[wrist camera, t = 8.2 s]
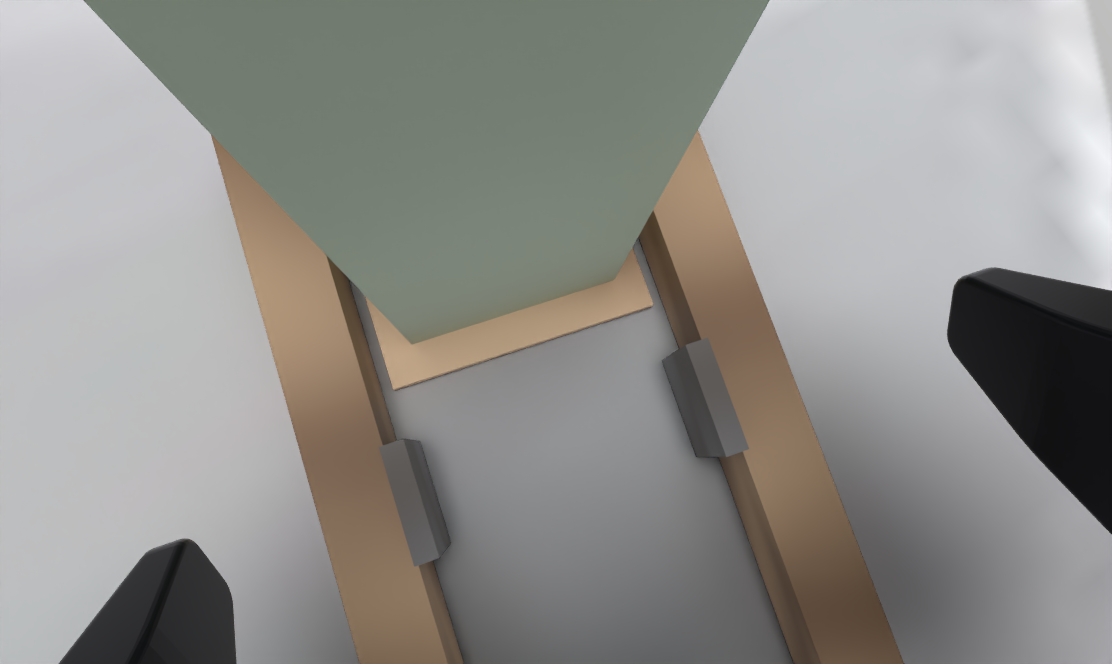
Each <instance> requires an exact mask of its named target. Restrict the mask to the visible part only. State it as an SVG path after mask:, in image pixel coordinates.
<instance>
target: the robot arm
mask: <svg viewBox="0 0 1112 664" xmlns="http://www.w3.org/2000/svg"><path fill="white" fill-rule="evenodd" d="M947 337H948V342H949V345H950V347H951V349H952V351H953V353H954V354H955V356H956V357H957V358H958V360H959V361H960V362H961V363H962V365H963V366H964V367H965V368H966V370H967V371H968V372H969V373H970V375H971V376H972V377H973V379H974V380H975V381H976V382H977V384H978V385H979V386H980V387H981V389H982V390H983V391H984V392H985V394H986V395H987V396H988V398H989V399H990V400H991V401H992V403H993V404H994V405H995V406H996V408H997V409H998V410H999V411H1000V413H1001V414H1002V415H1003V417H1004V418H1005V419H1006V420H1007V422H1008V423H1009V424H1010V425H1011V427H1012V428H1013V429H1014V430H1015V432H1016V433H1017V434H1018V435H1019V437H1020V438H1021V439H1022V440H1023V441H1024V443H1025V444H1026V445H1027V446H1028V447H1029V449H1030V450H1031V451H1032V452H1033V453H1034V454H1035V455H1036V456H1037V457H1038V459H1039V460H1040V461H1041V462H1042V463H1043V464H1044V465H1045V466H1046V467H1047V468H1048V469H1049V470H1050V471H1051V472H1052V473H1053V474H1054V475H1055V477H1056V478H1057V479H1058V480H1059V481H1060V482H1061V483H1062V484H1063V485H1064V486H1065V487H1066V488H1067V489H1068V490H1069V491H1070V492H1071V493H1072V494H1073V495H1074V496H1075V497H1076V498H1077V499H1078V500H1079V501H1080V502H1081V503H1082V504H1083V505H1084V506H1085V507H1086V509H1087V510H1088V511H1089V512H1090V513H1091V514H1092V515H1093V516H1094V517H1095V518H1096V519H1097V520H1098V521H1099V522H1100V523H1101V524H1102V525H1103V526H1104V527H1105V528H1106V529H1107V530H1108V531H1109V532H1110V533H1111V534H1112V291H1110V290H1105V289H1100V288H1096V287H1091V286H1086V285H1081V284H1076V283H1071V282H1066V281H1061V280H1056V279H1051V278H1046V277H1041V276H1036V275H1031V274H1026V273H1021V272H1016V271H1011V270H1006V269H1001V268H986V269H983V270H980V271H977V272H974V273H971V274H968V275H965V276H963V277H961V278H960V279H958V281H957V282H956V284H955V285H954V289H953V294H952V301H951V308H950V315H949V322H948V329H947ZM59 664H236V648H235V631H234V614H233V601H232V596H231V593H230V590H229V587H228V585H227V583H226V582H225V580H224V579H223V577H222V576H221V575H220V573H219V572H218V571H217V570H216V568H215V567H214V566H213V564H212V563H211V562H210V560H209V559H208V558H207V556H206V555H205V554H204V553H203V551H202V550H201V549H200V547H199V546H198V545H197V544H196V543H195V542H194V541H192V540H190V539H180V540H177V541H174V542H171V543H168V544H165V545H162V546H159V547H156V548H153V549H151V550H149V551H148V552H147V553H145V555H144V556H143V557H142V558H141V559H140V560H139V562H138V563H137V564H136V565H135V567H134V568H133V569H132V571H131V572H130V573H129V574H128V576H127V577H126V578H125V579H124V581H123V582H122V583H121V585H120V586H119V587H118V588H117V590H116V591H115V592H114V594H113V595H112V596H111V597H110V599H109V600H108V601H107V602H106V604H105V605H104V606H103V608H102V609H101V610H100V611H99V613H98V614H97V615H96V617H95V618H94V619H93V620H92V622H91V623H90V624H89V625H88V627H87V628H86V629H85V631H84V632H83V633H82V634H81V636H80V637H79V638H78V640H77V641H76V642H75V643H74V645H73V646H72V647H71V648H70V650H69V651H68V652H67V654H66V655H65V656H64V657H63V659H62V660H61V661H60V663H59Z"/></svg>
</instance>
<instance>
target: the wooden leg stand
mask: <svg viewBox="0 0 1112 664" xmlns="http://www.w3.org/2000/svg"><path fill="white" fill-rule="evenodd" d="M211 136H212V135H211ZM212 140H213V143H214V147H215V151H216V154H217V158H218V161H219V165H220V168H221V172H222V175H223V179H224V183H225V186H226V190H227V193H228V197H229V200H230V204H231V207H232V211H233V215H234V218H235V222H236V225H237V229H238V232H239V236H240V240H241V243H242V247H243V250H244V254H245V257H246V261H247V264H248V268H249V272H250V275H251V279H252V282H253V286H254V289H255V293H256V296H257V300H258V304H259V307H260V311H261V314H262V318H263V321H264V325H265V329H266V332H267V336H268V339H269V343H270V346H271V350H272V353H273V357H274V361H275V364H276V368H277V371H278V375H279V378H280V382H281V385H282V389H283V393H284V396H285V400H286V403H287V407H288V410H289V414H290V417H291V421H292V425H293V428H294V432H295V435H296V439H297V442H298V446H299V450H300V453H301V457H302V460H303V464H304V467H305V471H306V474H307V478H308V482H309V485H310V489H311V492H312V496H313V499H314V503H315V506H316V510H317V514H318V517H319V521H320V524H321V528H322V531H323V535H324V538H325V542H326V546H327V549H328V553H329V556H330V560H331V563H332V567H333V571H334V574H335V578H336V581H337V585H338V588H339V592H340V595H341V599H342V603H343V606H344V610H345V613H346V617H347V620H348V624H349V627H350V631H351V635H352V638H353V642H354V645H355V649H356V652H357V656H358V659H359V663H360V664H464V663H463V659H462V656H461V653H460V649H459V646H458V643H457V639H456V636H455V633H454V629H453V626H452V623H451V620H450V616H449V613H448V610H447V606H446V603H445V600H444V596H443V593H442V590H441V586H440V583H439V580H438V576H437V573H436V570H435V566H434V563H433V560H435V559H438V558H440V557H441V555H442V554H443V553H444V551H445V550H446V549H447V547H448V546H449V545H450V543H451V541H450V538H449V535H448V532H447V528H446V525H445V522H444V518H443V515H442V512H441V509H440V505H439V502H438V499H437V496H436V492H435V489H434V486H433V482H432V479H431V476H430V473H429V469H428V466H427V463H426V460H425V456H424V453H423V450H422V446H421V443H420V441H415V440H408V439H401V440H398V441H397V440H396V437H395V433H394V430H393V427H392V423H391V420H390V417H389V414H388V410H387V407H386V404H385V400H384V397H383V394H382V390H381V387H380V384H379V380H378V377H377V374H376V370H375V367H374V364H373V360H372V357H371V354H370V350H369V347H368V344H367V340H366V337H365V334H364V330H363V327H362V324H361V321H360V317H359V314H358V311H357V307H356V304H355V301H354V297H353V294H352V291H351V287H350V284H349V281H348V277H347V276H346V275H345V274H344V273H343V272H342V271H341V270H340V269H339V268H338V267H337V266H336V265H335V264H334V263H333V262H332V260H331V259H330V258H329V257H328V256H327V255H326V254H325V253H324V252H323V251H322V250H321V249H320V248H319V247H318V246H317V245H316V244H315V243H314V242H313V241H312V239H311V238H310V237H309V236H308V235H307V234H306V233H305V232H304V231H303V230H302V229H301V228H300V227H299V226H298V225H297V224H296V223H295V222H294V221H293V220H292V219H291V217H290V216H289V215H288V214H287V213H286V212H285V211H284V210H283V209H282V208H281V207H280V206H279V205H278V204H277V203H276V202H275V201H274V200H273V199H272V198H271V196H270V195H269V194H268V193H267V192H266V191H265V190H264V189H263V188H262V187H261V186H260V185H259V184H258V183H257V182H256V181H255V180H254V179H253V178H252V177H251V176H250V174H249V173H248V172H247V171H246V170H245V169H244V168H243V167H242V166H241V165H240V164H239V163H238V162H237V161H236V160H235V159H234V158H233V157H232V156H231V155H230V153H229V152H228V151H227V150H226V149H225V148H224V147H223V146H222V145H221V144H220V143H219V142H218V141H217V140H216V139H215V138H214V137H213V136H212ZM638 237H639V240H640V242H641V245H642V248H643V251H644V253H645V256H646V259H647V262H648V264H649V267H650V270H651V273H652V275H653V278H654V281H655V284H656V286H657V289H658V292H659V295H660V297H661V300H662V303H663V306H664V308H665V311H666V314H667V316H668V319H669V322H670V325H671V327H672V330H673V333H674V336H675V338H676V341H677V344H678V347H679V350H677V351H675V352H674V353H672V354H671V355H669V356H668V357H666V358H665V359H663V360H662V362H663V365H664V368H665V371H666V374H667V376H668V379H669V382H670V385H671V387H672V390H673V393H674V396H675V399H676V401H677V404H678V407H679V410H680V412H681V415H682V418H683V421H684V424H685V426H686V429H687V432H688V435H689V437H690V440H691V443H692V446H693V449H694V451H695V454H696V457H719V459H720V462H721V465H722V467H723V470H724V473H725V476H726V478H727V481H728V484H729V487H730V489H731V492H732V495H733V498H734V500H735V503H736V506H737V509H738V511H739V514H740V517H741V519H742V522H743V525H744V528H745V530H746V533H747V536H748V539H749V541H750V544H751V547H752V550H753V552H754V555H755V558H756V561H757V563H758V566H759V569H760V572H761V574H762V577H763V580H764V583H765V585H766V588H767V591H768V594H769V596H770V599H771V602H772V605H773V607H774V610H775V613H776V615H777V618H778V621H779V624H780V626H781V629H782V632H783V635H784V637H785V640H786V643H787V646H788V648H789V651H790V654H791V657H792V659H793V662H794V664H904V663H903V660H902V657H901V655H900V652H899V650H898V647H897V645H896V642H895V639H894V637H893V634H892V632H891V629H890V626H889V624H888V621H887V619H886V616H885V613H884V611H883V608H882V606H881V603H880V600H879V598H878V595H877V593H876V590H875V587H874V585H873V582H872V580H871V577H870V574H869V572H868V569H867V567H866V564H865V562H864V559H863V556H862V554H861V551H860V549H859V546H858V543H857V541H856V538H855V536H854V533H853V530H852V528H851V525H850V523H849V520H848V517H847V515H846V512H845V510H844V507H843V504H842V502H841V499H840V497H839V494H838V492H837V489H836V486H835V484H834V481H833V479H832V476H831V473H830V471H829V468H828V466H827V463H826V460H825V458H824V455H823V453H822V450H821V447H820V445H819V442H818V440H817V437H816V434H815V432H814V429H813V427H812V424H811V422H810V419H809V416H808V414H807V411H806V409H805V406H804V403H803V401H802V398H801V396H800V393H799V390H798V388H797V385H796V383H795V380H794V377H793V375H792V372H791V370H790V367H789V364H788V362H787V359H786V357H785V354H784V352H783V349H782V346H781V344H780V341H779V339H778V336H777V333H776V331H775V328H774V326H773V323H772V320H771V318H770V315H769V313H768V310H767V307H766V305H765V302H764V300H763V297H762V294H761V292H760V289H759V287H758V284H757V282H756V279H755V276H754V274H753V271H752V269H751V266H750V263H749V261H748V258H747V256H746V253H745V250H744V248H743V245H742V243H741V240H740V237H739V235H738V232H737V230H736V227H735V224H734V222H733V219H732V217H731V214H730V211H729V209H728V206H727V204H726V201H725V199H724V196H723V193H722V191H721V188H720V186H719V183H718V180H717V178H716V175H715V173H714V170H713V167H712V165H711V162H710V160H709V157H708V154H707V152H706V149H705V147H704V144H703V141H702V139H701V136H700V134H699V131H698V130H697V132H696V134H695V135H694V137H693V139H692V141H691V143H690V144H689V146H688V148H687V150H686V152H685V153H684V155H683V157H682V159H681V161H680V162H679V164H678V166H677V168H676V170H675V171H674V173H673V175H672V177H671V179H670V180H669V182H668V184H667V186H666V188H665V189H664V191H663V193H662V195H661V197H660V198H659V200H658V202H657V204H656V206H655V207H654V209H653V211H652V213H651V215H650V216H649V218H648V220H647V222H646V224H645V225H644V227H643V229H642V231H641V233H640V234H639V236H638Z"/></svg>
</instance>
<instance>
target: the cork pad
mask: <svg viewBox="0 0 1112 664" xmlns="http://www.w3.org/2000/svg"><path fill="white" fill-rule="evenodd" d="M365 298H366V302H367V305H368V308H369V312H370V315H371V318H372V321H373V325H374V328H375V331H376V335H377V338H378V341H379V344H380V348H381V351H382V354H383V358H384V361H385V364H386V368H387V371H388V374H389V377H390V381H391V384H392V387H393V390H398V389H401V388H405V387H408V386H411V385H414V384H417V383H420V382H423V381H426V380H429V379H432V378H435V377H438V376H441V375H445V374H448V373H451V372H454V371H457V370H460V369H463V368H466V367H469V366H472V365H475V364H478V363H481V362H485V361H488V360H491V359H494V358H497V357H500V356H503V355H506V354H509V353H512V352H515V351H518V350H521V349H524V348H528V347H531V346H534V345H537V344H540V343H543V342H546V341H549V340H552V339H555V338H558V337H561V336H564V335H568V334H571V333H574V332H577V331H580V330H583V329H586V328H589V327H592V326H595V325H598V324H601V323H604V322H608V321H611V320H614V319H617V318H620V317H623V316H626V315H629V314H632V313H635V312H638V311H641V310H644V309H648V308H651V307H652V306H653V302H652V299H651V296H650V294H649V291H648V288H647V285H646V283H645V280H644V277H643V274H642V272H641V269H640V266H639V263H638V261H637V258H636V255H635V252H634V250H633V247H632V249H631V251H630V252H629V254H628V256H627V258H626V260H625V261H624V263H623V265H622V267H621V269H620V270H619V272H618V274H617V276H616V278H615V279H614V280H613V281H610V282H607V283H603V284H600V285H597V286H594V287H591V288H588V289H585V290H582V291H578V292H575V293H572V294H569V295H566V296H563V297H560V298H556V299H553V300H550V301H547V302H544V303H541V304H538V305H535V306H531V307H528V308H525V309H522V310H519V311H516V312H513V313H509V314H506V315H503V316H500V317H497V318H494V319H491V320H487V321H484V322H481V323H478V324H475V325H472V326H469V327H466V328H462V329H459V330H456V331H453V332H450V333H447V334H444V335H440V336H437V337H434V338H431V339H428V340H425V341H422V342H418V343H415V344H411V343H410V342H409V341H408V340H407V339H406V338H405V337H404V336H403V335H402V334H401V333H400V332H399V331H398V330H397V329H396V328H395V327H394V325H393V324H392V323H391V322H390V321H389V320H388V319H387V318H386V317H385V316H384V315H383V314H382V313H381V312H380V311H379V310H378V309H377V308H376V307H375V306H374V305H373V303H372V302H371V301H370V300H369V299H368V298H367V297H366V296H365Z"/></svg>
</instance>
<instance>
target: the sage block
mask: <svg viewBox="0 0 1112 664" xmlns="http://www.w3.org/2000/svg"><path fill="white" fill-rule="evenodd" d="M84 1H85V2H86V3H87V5H88V6H89V7H90V8H91V9H92V10H93V11H94V12H95V13H96V14H97V15H98V16H99V17H100V18H101V19H102V20H103V21H104V22H105V23H106V24H107V26H108V27H109V28H110V29H111V30H112V31H113V32H114V33H115V34H116V35H117V36H118V37H119V38H120V39H121V40H122V41H123V42H124V43H125V44H126V45H127V47H128V48H129V49H130V50H131V51H132V52H133V53H134V54H135V55H136V56H137V57H138V58H139V59H140V60H141V61H142V62H143V63H144V64H145V65H146V66H147V67H148V69H149V70H150V71H151V72H152V73H153V74H154V75H155V76H156V77H157V78H158V79H159V80H160V81H161V82H162V83H163V84H164V85H165V86H166V87H167V88H168V90H169V91H170V92H171V93H172V94H173V95H174V96H175V97H176V98H177V99H178V100H179V101H180V102H181V103H182V104H183V105H184V106H185V107H186V108H187V109H188V110H189V112H190V113H191V114H192V115H193V116H194V117H195V118H196V119H197V120H198V121H199V122H200V123H201V124H202V125H203V126H204V127H205V128H206V129H207V130H208V131H209V133H210V134H211V135H212V136H213V137H214V138H215V139H216V140H217V141H218V142H219V143H220V144H221V145H222V146H223V147H224V148H225V149H226V150H227V151H228V152H229V153H230V155H231V156H232V157H233V158H234V159H235V160H236V161H237V162H238V163H239V164H240V165H241V166H242V167H243V168H244V169H245V170H246V171H247V172H248V173H249V174H250V176H251V177H252V178H253V179H254V180H255V181H256V182H257V183H258V184H259V185H260V186H261V187H262V188H263V189H264V190H265V191H266V192H267V193H268V194H269V195H270V196H271V198H272V199H273V200H274V201H275V202H276V203H277V204H278V205H279V206H280V207H281V208H282V209H283V210H284V211H285V212H286V213H287V214H288V215H289V216H290V217H291V219H292V220H293V221H294V222H295V223H296V224H297V225H298V226H299V227H300V228H301V229H302V230H303V231H304V232H305V233H306V234H307V235H308V236H309V237H310V238H311V239H312V241H313V242H314V243H315V244H316V245H317V246H318V247H319V248H320V249H321V250H322V251H323V252H324V253H325V254H326V255H327V256H328V257H329V258H330V259H331V260H332V262H333V263H334V264H335V265H336V266H337V267H338V268H339V269H340V270H341V271H342V272H343V273H344V274H345V275H346V276H347V277H348V278H349V279H350V280H351V281H352V282H353V284H354V285H355V286H356V287H357V288H358V289H359V290H360V291H361V292H362V293H363V294H364V295H365V296H366V297H367V298H368V299H369V300H370V301H371V302H372V303H373V305H374V306H375V307H376V308H377V309H378V310H379V311H380V312H381V313H382V314H383V315H384V316H385V317H386V318H387V319H388V320H389V321H390V322H391V323H392V324H393V325H394V327H395V328H396V329H397V330H398V331H399V332H400V333H401V334H402V335H403V336H404V337H405V338H406V339H407V340H408V341H409V342H410V343H411V344H415V343H418V342H422V341H425V340H428V339H431V338H434V337H437V336H440V335H444V334H447V333H450V332H453V331H456V330H459V329H462V328H466V327H469V326H472V325H475V324H478V323H481V322H484V321H487V320H491V319H494V318H497V317H500V316H503V315H506V314H509V313H513V312H516V311H519V310H522V309H525V308H528V307H531V306H535V305H538V304H541V303H544V302H547V301H550V300H553V299H556V298H560V297H563V296H566V295H569V294H572V293H575V292H578V291H582V290H585V289H588V288H591V287H594V286H597V285H600V284H603V283H607V282H610V281H613V280H614V279H615V278H616V276H617V274H618V272H619V270H620V269H621V267H622V265H623V263H624V261H625V260H626V258H627V256H628V254H629V252H630V251H631V249H632V247H633V245H634V243H635V242H636V240H637V238H638V236H639V234H640V233H641V231H642V229H643V227H644V225H645V224H646V222H647V220H648V218H649V216H650V215H651V213H652V211H653V209H654V207H655V206H656V204H657V202H658V200H659V198H660V197H661V195H662V193H663V191H664V189H665V188H666V186H667V184H668V182H669V180H670V179H671V177H672V175H673V173H674V171H675V170H676V168H677V166H678V164H679V162H680V161H681V159H682V157H683V155H684V153H685V152H686V150H687V148H688V146H689V144H690V143H691V141H692V139H693V137H694V135H695V134H696V132H697V130H698V128H699V126H700V125H701V123H702V121H703V119H704V117H705V116H706V114H707V112H708V110H709V108H710V107H711V105H712V103H713V101H714V99H715V98H716V96H717V94H718V92H719V90H720V89H721V87H722V85H723V83H724V81H725V80H726V78H727V76H728V74H729V72H730V71H731V69H732V67H733V65H734V63H735V62H736V60H737V58H738V56H739V54H740V53H741V51H742V49H743V47H744V45H745V44H746V42H747V40H748V38H749V36H750V35H751V33H752V31H753V29H754V27H755V26H756V24H757V22H758V20H759V18H760V17H761V15H762V13H763V11H764V9H765V8H766V6H767V4H768V2H769V0H84Z"/></svg>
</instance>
